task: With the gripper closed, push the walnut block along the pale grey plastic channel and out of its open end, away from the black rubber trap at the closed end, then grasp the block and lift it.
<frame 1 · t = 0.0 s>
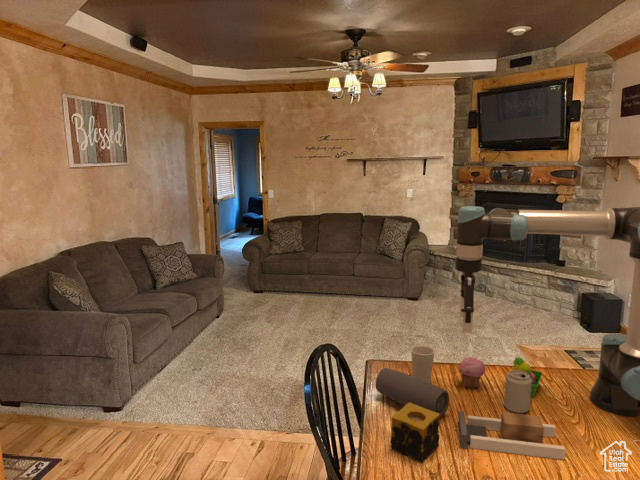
hand: (465, 324, 149), 28 cm above the table, tool pointing down, fingers open, 13 cm apart
cupcake: (471, 386, 169), on the table
channel: (512, 441, 136), on the table
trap: (475, 436, 138), on the table
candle: (414, 448, 133), on the table
cup: (421, 382, 172), on the table
can: (516, 409, 153), on the table
block: (520, 442, 136), on the table
fruit basket: (525, 390, 166), on the table
bluetooth speaker: (410, 407, 155), on the table
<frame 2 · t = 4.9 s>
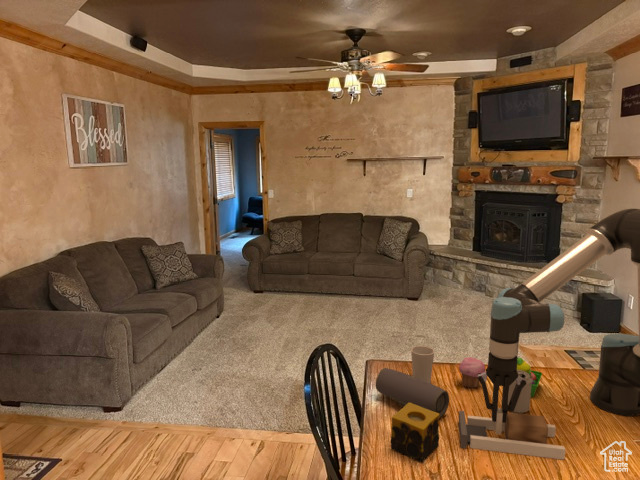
hand: (497, 431, 137), 2 cm above the table, tool pointing down, fingers closed
block: (524, 442, 135), on the table, touching gripper
everything else where it was.
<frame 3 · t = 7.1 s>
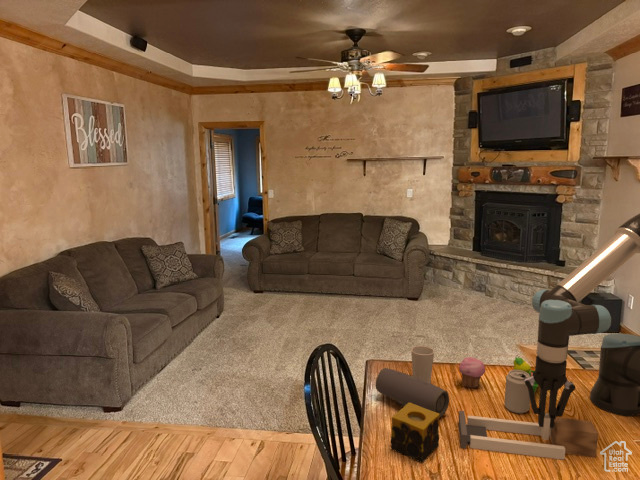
hand: (544, 436, 134), 2 cm above the table, tool pointing down, fingers closed
block: (572, 448, 133), on the table, touching gripper
everything else where it was.
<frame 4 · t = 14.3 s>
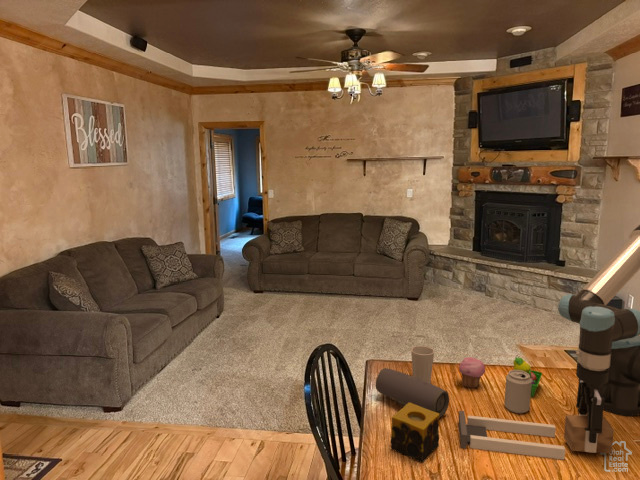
hand: (586, 443, 132), 2 cm above the table, tool pointing down, fingers closed on block, 6 cm apart
block: (587, 445, 132), point 1 cm above the table, touching gripper
everything else where it was.
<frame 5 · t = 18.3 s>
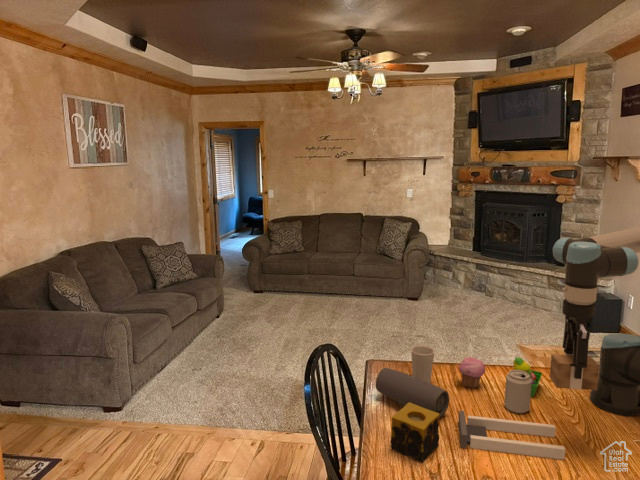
hand: (571, 382, 131), 19 cm above the table, tool pointing down, fingers closed on block, 6 cm apart
block: (572, 383, 131), point 18 cm above the table, touching gripper
everything else where it was.
at the end: the gripper is holding block; block point 18.5 cm above the table; block inside the target area (2.0 cm from its centre), point 18.5 cm above the table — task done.
